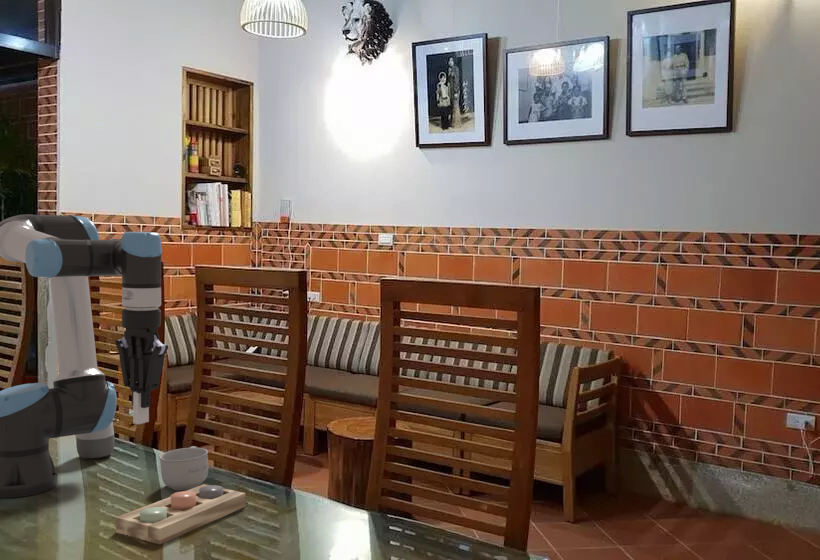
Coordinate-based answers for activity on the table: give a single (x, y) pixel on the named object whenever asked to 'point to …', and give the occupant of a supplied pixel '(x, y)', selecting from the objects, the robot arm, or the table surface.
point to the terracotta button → (183, 500)
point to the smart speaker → (96, 444)
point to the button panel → (179, 516)
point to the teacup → (184, 467)
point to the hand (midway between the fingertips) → (141, 422)
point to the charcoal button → (211, 492)
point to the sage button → (153, 514)
